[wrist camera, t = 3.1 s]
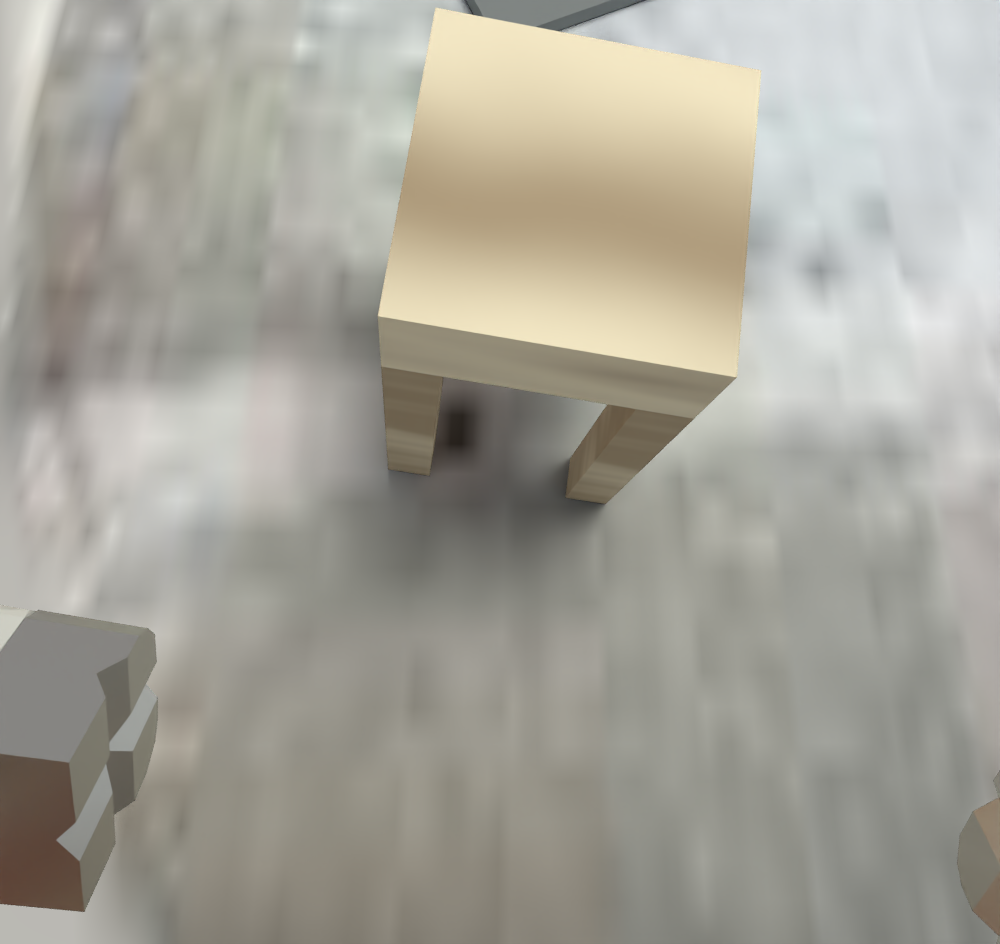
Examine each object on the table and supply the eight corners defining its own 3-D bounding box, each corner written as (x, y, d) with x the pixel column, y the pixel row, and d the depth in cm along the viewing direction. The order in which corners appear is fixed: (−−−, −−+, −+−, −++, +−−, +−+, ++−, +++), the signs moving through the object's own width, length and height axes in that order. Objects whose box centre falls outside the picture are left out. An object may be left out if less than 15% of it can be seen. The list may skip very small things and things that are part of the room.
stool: (423, 268, 28) (435, 7, 18) (628, 304, 29) (761, 70, 18) (388, 469, 27) (377, 315, 16) (605, 503, 27) (737, 377, 16)
